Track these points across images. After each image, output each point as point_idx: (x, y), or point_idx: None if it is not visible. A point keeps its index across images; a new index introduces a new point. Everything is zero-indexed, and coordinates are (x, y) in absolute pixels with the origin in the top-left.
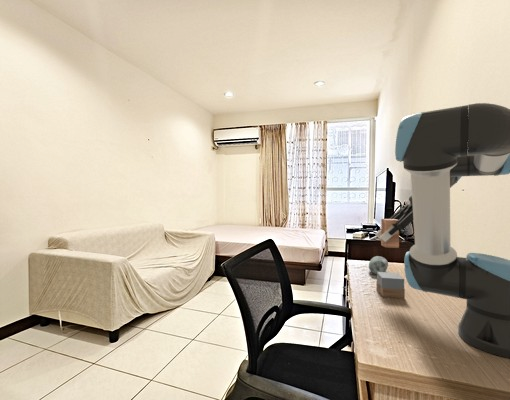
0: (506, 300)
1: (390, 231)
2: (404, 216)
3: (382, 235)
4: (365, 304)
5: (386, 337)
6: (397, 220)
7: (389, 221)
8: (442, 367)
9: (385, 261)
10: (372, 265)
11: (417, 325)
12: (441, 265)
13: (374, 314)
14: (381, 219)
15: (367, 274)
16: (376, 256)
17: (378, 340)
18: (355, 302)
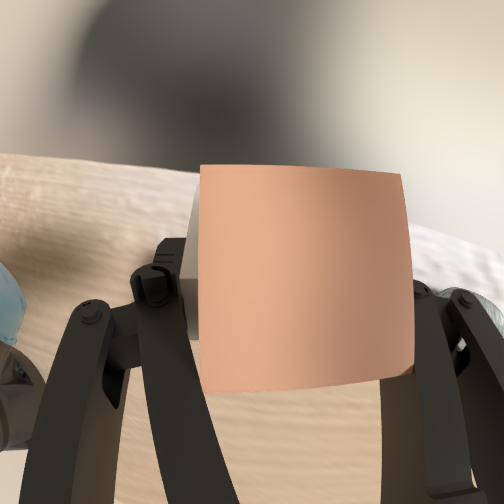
0: None
1: (163, 250)
2: (166, 492)
3: (195, 195)
4: (145, 196)
5: (9, 202)
6: (201, 364)
7: (201, 230)
8: None
9: (461, 347)
10: (444, 294)
11: (44, 286)
12: None
13: (88, 204)
14: (388, 176)
15: (429, 281)
16: (497, 321)
17: (4, 186)
18: (157, 172)
